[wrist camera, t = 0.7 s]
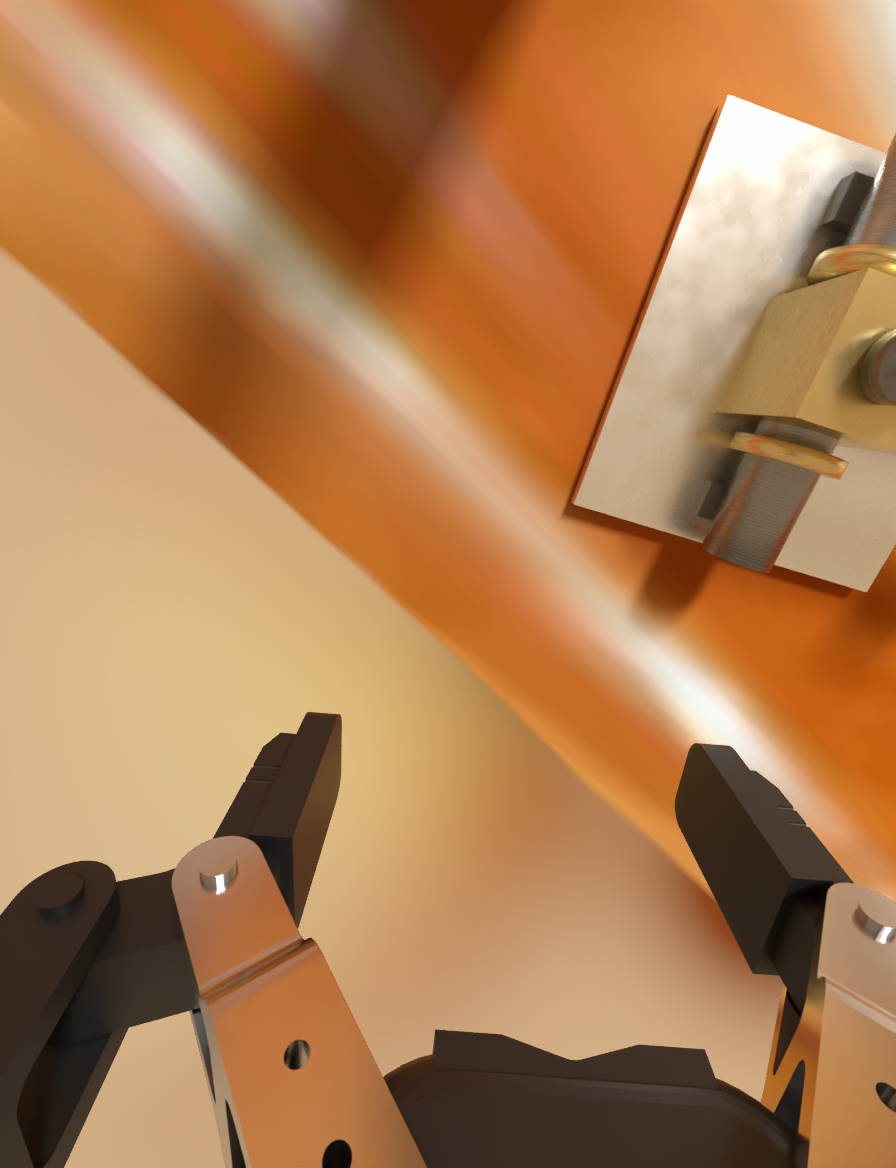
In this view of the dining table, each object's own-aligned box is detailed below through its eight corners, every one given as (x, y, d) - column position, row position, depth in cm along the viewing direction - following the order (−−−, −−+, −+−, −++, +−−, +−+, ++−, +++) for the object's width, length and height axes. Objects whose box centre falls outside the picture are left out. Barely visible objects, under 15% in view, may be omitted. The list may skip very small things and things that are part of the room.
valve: (718, 105, 31) (827, -16, 22) (1063, 233, 32) (1298, 171, 23) (570, 501, 38) (604, 533, 29) (855, 587, 40) (970, 642, 31)
